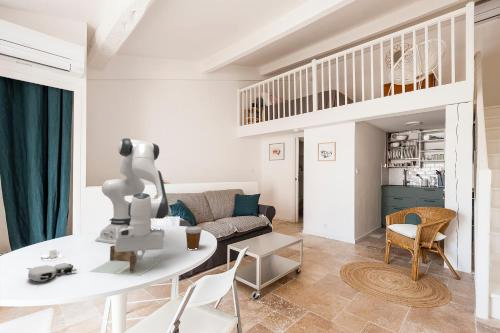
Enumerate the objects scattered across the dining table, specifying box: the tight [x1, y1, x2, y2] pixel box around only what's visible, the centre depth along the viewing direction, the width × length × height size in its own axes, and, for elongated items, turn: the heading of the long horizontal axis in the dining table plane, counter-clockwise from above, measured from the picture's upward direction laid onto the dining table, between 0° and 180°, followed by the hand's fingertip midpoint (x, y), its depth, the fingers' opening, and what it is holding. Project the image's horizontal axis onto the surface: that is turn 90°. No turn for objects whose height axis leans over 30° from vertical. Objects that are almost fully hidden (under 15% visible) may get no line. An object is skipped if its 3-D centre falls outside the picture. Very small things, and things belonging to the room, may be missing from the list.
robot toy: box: [26, 262, 78, 283], centre depth 102 cm, size 12×4×15 cm
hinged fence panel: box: [129, 251, 137, 272], centre depth 112 cm, size 13×2×6 cm, turn 19°
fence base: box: [109, 244, 137, 262], centre depth 120 cm, size 14×2×7 cm, turn 83°
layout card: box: [89, 257, 163, 277], centre depth 115 cm, size 24×20×1 cm
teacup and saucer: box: [40, 249, 64, 262], centre depth 123 cm, size 9×8×4 cm
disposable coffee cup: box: [184, 226, 203, 249], centre depth 143 cm, size 10×10×12 cm
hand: (139, 259), depth 111 cm, fingers closed
